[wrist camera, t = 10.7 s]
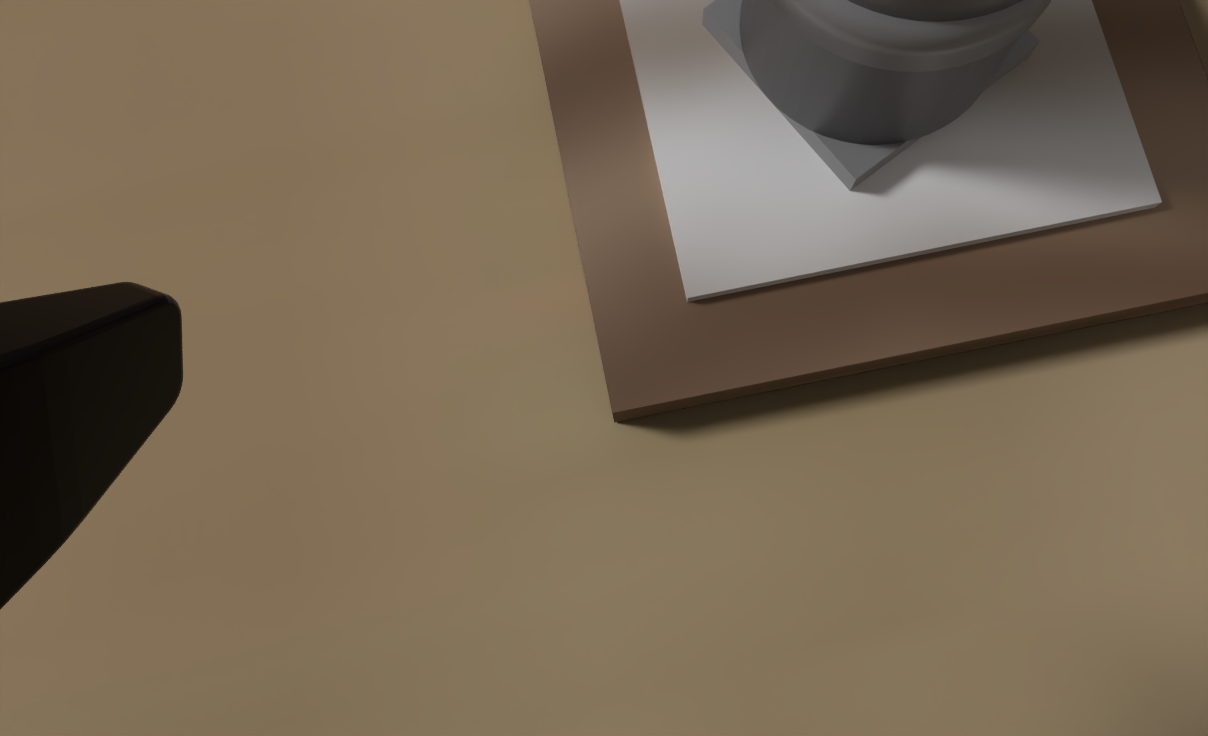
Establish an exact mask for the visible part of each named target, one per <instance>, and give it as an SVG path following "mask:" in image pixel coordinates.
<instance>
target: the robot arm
mask: <svg viewBox="0 0 1208 736" xmlns="http://www.w3.org/2000/svg"><path fill="white" fill-rule="evenodd" d="M182 382H183V356H182V318H181V310H180V308H179V305H178V303H177V302H176V300H174V299H173V298H172V297H171V296H169V295H167V294H164V293H161V292H159V291H156V290H153V289H150V288H148V287H145V286H142V285H139V284H136V283H132V282H121V283H115V284H109V285H103V286H97V287H91V288H85V289H79V290H73V291H67V292H61V293H55V294H49V295H43V296H37V297H31V298H25V299H19V300H13V301H7V302H1V303H0V609H1V608H2V607H3V606H4V605H5V604H6V603H7V602H8V601H9V600H10V599H11V598H12V597H13V596H14V595H15V594H16V593H17V592H18V591H19V590H20V589H21V588H22V587H23V586H24V585H25V584H26V583H27V582H28V581H29V580H30V579H31V578H32V576H33V575H34V574H35V573H36V572H37V571H38V570H39V569H40V568H41V567H42V566H43V565H44V564H45V563H46V562H47V561H48V560H49V559H50V558H51V556H52V555H53V554H54V553H55V552H56V551H57V550H58V549H59V548H60V547H61V546H62V545H63V544H64V542H65V541H66V540H67V539H68V538H69V537H70V535H71V534H72V533H73V532H74V531H75V529H76V528H77V527H78V526H79V525H80V523H81V522H82V521H83V520H84V519H85V517H86V516H87V515H88V514H89V512H90V511H91V510H92V509H93V507H94V506H95V505H96V503H97V502H98V501H99V500H100V498H101V497H102V496H103V495H104V493H105V492H106V491H107V489H108V488H109V487H110V486H111V484H112V483H113V482H114V481H115V479H116V478H117V477H118V476H119V474H120V473H121V472H122V470H123V469H124V468H125V467H126V465H127V464H128V463H129V462H130V460H131V459H132V458H133V456H134V455H135V454H136V453H137V451H138V450H139V449H140V448H141V446H142V445H143V444H144V443H145V441H146V440H147V439H148V437H149V436H150V435H151V434H152V432H153V431H154V430H155V429H156V427H157V426H158V425H159V423H160V422H161V421H162V420H163V418H164V417H165V416H166V415H167V413H168V412H169V411H170V410H171V408H172V407H173V405H174V404H175V402H176V400H177V398H178V396H179V393H180V390H181V387H182Z"/></svg>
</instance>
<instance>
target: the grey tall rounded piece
mask: <svg viewBox="0 0 1208 736" xmlns="http://www.w3.org/2000/svg"><path fill="white" fill-rule="evenodd" d="M1051 1H1052V0H715V1H714V2H712V3H711V4H709V5H708V6H707V7H705V8H704V9H703V20H702V25H703V26H704V27H705V28H706V29H707V30H708V32H709V33H710V34H711V35H712V36H713V37H714V38H715V39H716V41H717V42H718V43H719V44H720V45H721V46H722V47H723V48H724V50H725V51H726V52H727V53H728V54H729V55H730V56H731V58H732V59H733V60H734V61H735V62H736V63H737V64H738V65H739V67H740V68H741V69H742V70H743V71H744V72H745V73H746V74H747V76H748V77H749V78H750V79H751V80H752V81H753V82H754V83H755V85H756V86H757V87H758V88H759V89H760V90H761V91H762V92H763V94H764V95H765V96H766V97H767V98H768V99H769V100H770V102H771V103H772V104H773V105H774V106H775V107H776V108H777V109H778V111H779V112H780V113H781V114H782V115H783V116H784V117H785V118H786V120H787V121H788V122H789V123H790V124H791V125H792V126H793V127H794V129H795V130H796V131H797V132H798V133H799V134H800V135H801V136H802V138H803V139H804V140H805V141H806V142H807V143H808V144H809V146H810V147H811V148H812V149H813V150H814V151H815V152H816V153H817V155H818V156H819V157H820V158H821V159H822V160H823V161H824V162H825V164H826V165H827V166H828V167H829V168H830V169H831V170H832V171H833V173H834V174H835V175H836V176H837V177H838V178H839V179H840V180H841V182H842V183H843V184H844V185H845V186H846V187H847V188H848V190H849V191H851V190H852V189H853V188H855V187H856V186H857V185H859V184H860V183H861V182H863V181H864V180H865V179H867V178H868V177H869V176H871V175H872V174H873V173H875V172H876V171H877V170H879V169H880V168H881V167H883V166H884V165H885V164H887V163H888V162H889V161H891V160H892V159H893V158H895V157H896V156H897V155H899V154H900V153H901V152H903V151H904V150H905V149H907V148H908V147H909V146H911V145H912V144H913V143H915V142H916V141H917V140H919V139H920V138H921V137H923V136H926V135H928V134H931V133H933V132H935V131H937V130H939V129H941V128H943V127H945V126H946V125H948V124H949V123H951V122H952V121H954V120H955V119H957V118H958V117H959V116H960V115H962V114H963V113H964V112H965V111H966V110H967V109H969V108H970V107H971V105H972V104H973V103H974V102H975V101H976V100H977V99H978V98H979V96H980V95H981V94H982V92H983V91H984V90H985V89H987V88H988V87H989V86H991V85H992V84H993V83H995V82H996V81H997V80H999V79H1000V78H1001V77H1003V76H1004V75H1005V74H1007V73H1008V72H1009V71H1011V70H1012V69H1013V68H1015V67H1016V66H1017V65H1019V64H1020V63H1021V62H1023V61H1024V60H1025V59H1027V58H1028V57H1029V56H1030V55H1031V54H1032V52H1033V51H1034V49H1035V48H1036V47H1037V45H1038V44H1039V42H1040V41H1039V40H1038V39H1037V38H1036V37H1035V36H1034V35H1033V34H1032V33H1031V32H1030V30H1029V28H1030V27H1031V26H1032V25H1033V24H1034V22H1035V21H1036V20H1037V19H1038V18H1039V17H1040V16H1041V15H1042V13H1043V12H1044V11H1045V9H1046V8H1047V6H1048V5H1049V4H1050V2H1051Z"/></svg>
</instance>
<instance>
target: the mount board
mask: <svg viewBox="0 0 1208 736" xmlns="http://www.w3.org/2000/svg"><path fill="white" fill-rule="evenodd" d="M714 1H715V0H530V5H531V10H532V15H533V20H534V25H535V30H536V35H537V40H538V45H539V50H540V55H541V60H542V65H543V70H544V75H545V80H546V85H547V90H548V95H549V100H550V105H551V110H552V115H553V120H554V125H555V130H556V135H557V140H558V145H559V150H560V155H561V160H562V164H563V169H564V174H565V179H566V184H567V189H568V194H569V199H570V204H571V209H572V214H573V219H574V224H575V229H576V234H577V239H578V244H579V249H580V254H581V259H582V264H583V269H584V274H585V279H586V284H587V289H588V294H589V299H590V304H591V309H592V314H593V319H594V324H595V329H596V334H597V339H598V344H599V349H600V354H601V359H602V363H603V368H604V373H605V378H606V383H607V388H608V393H609V398H610V403H611V408H612V413H613V418H614V422H619V421H623V420H628V419H633V418H638V417H643V416H648V415H653V414H658V413H663V412H668V411H673V410H678V409H683V408H688V407H693V406H698V405H703V404H708V403H713V402H718V401H723V400H728V399H733V398H738V397H742V396H747V395H752V394H757V393H762V392H767V391H772V390H777V389H782V388H787V387H792V386H797V385H802V384H807V383H812V382H817V381H822V380H827V379H832V378H837V377H842V376H847V375H852V374H856V373H861V372H866V371H871V370H876V369H881V368H886V367H891V366H896V365H901V364H906V363H911V362H916V361H921V360H926V359H931V358H936V357H941V356H946V355H951V354H956V353H961V352H966V351H970V350H975V349H980V348H985V347H990V346H995V345H1000V344H1005V343H1010V342H1015V341H1020V340H1025V339H1030V338H1035V337H1040V336H1045V335H1050V334H1055V333H1060V332H1065V331H1070V330H1075V329H1080V328H1084V327H1089V326H1094V325H1099V324H1104V323H1109V322H1114V321H1119V320H1124V319H1129V318H1134V317H1139V316H1144V315H1149V314H1154V313H1159V312H1164V311H1169V310H1174V309H1179V308H1184V307H1189V306H1194V305H1199V304H1203V303H1208V79H1207V76H1206V73H1205V71H1204V68H1203V65H1202V62H1201V60H1200V57H1199V54H1198V52H1197V49H1196V46H1195V44H1194V41H1193V38H1192V35H1191V33H1190V30H1189V27H1188V25H1187V22H1186V19H1185V17H1184V14H1183V11H1182V8H1181V6H1180V3H1179V0H1052V1H1051V2H1050V4H1049V5H1048V6H1047V8H1046V9H1045V11H1044V12H1043V13H1042V15H1041V16H1040V17H1039V18H1038V19H1037V20H1036V21H1035V22H1034V24H1033V25H1032V26H1031V27H1030V28H1029V30H1030V32H1031V33H1032V34H1033V35H1034V36H1035V37H1036V38H1037V39H1038V40H1039V41H1040V42H1039V44H1038V45H1037V47H1036V48H1035V49H1034V51H1033V52H1032V54H1031V55H1030V56H1029V57H1028V58H1027V59H1025V60H1024V61H1023V62H1021V63H1020V64H1019V65H1017V66H1016V67H1015V68H1013V69H1012V70H1011V71H1009V72H1008V73H1007V74H1005V75H1004V76H1003V77H1001V78H1000V79H999V80H997V81H996V82H995V83H993V84H992V85H991V86H989V87H988V88H987V89H985V90H984V91H983V92H982V94H981V95H980V96H979V98H978V99H977V100H976V101H975V102H974V103H973V104H972V105H971V107H970V108H969V109H967V110H966V111H965V112H964V113H963V114H962V115H960V116H959V117H958V118H957V119H955V120H954V121H952V122H951V123H949V124H948V125H946V126H945V127H943V128H941V129H939V130H937V131H935V132H933V133H931V134H928V135H926V136H923V137H921V138H920V139H919V140H917V141H916V142H915V143H913V144H912V145H911V146H909V147H908V148H907V149H905V150H904V151H903V152H901V153H900V154H899V155H897V156H896V157H895V158H893V159H892V160H891V161H889V162H888V163H887V164H885V165H884V166H883V167H881V168H880V169H879V170H877V171H876V172H875V173H873V174H872V175H871V176H869V177H868V178H867V179H865V180H864V181H863V182H861V183H860V184H859V185H857V186H856V187H855V188H853V189H852V190H851V191H849V190H848V188H847V187H846V186H845V185H844V184H843V183H842V182H841V180H840V179H839V178H838V177H837V176H836V175H835V174H834V173H833V171H832V170H831V169H830V168H829V167H828V166H827V165H826V164H825V162H824V161H823V160H822V159H821V158H820V157H819V156H818V155H817V153H816V152H815V151H814V150H813V149H812V148H811V147H810V146H809V144H808V143H807V142H806V141H805V140H804V139H803V138H802V136H801V135H800V134H799V133H798V132H797V131H796V130H795V129H794V127H793V126H792V125H791V124H790V123H789V122H788V121H787V120H786V118H785V117H784V116H783V115H782V114H781V113H780V112H779V111H778V109H777V108H776V107H775V106H774V105H773V104H772V103H771V102H770V100H769V99H768V98H767V97H766V96H765V95H764V94H763V92H762V91H761V90H760V89H759V88H758V87H757V86H756V85H755V83H754V82H753V81H752V80H751V79H750V78H749V77H748V76H747V74H746V73H745V72H744V71H743V70H742V69H741V68H740V67H739V65H738V64H737V63H736V62H735V61H734V60H733V59H732V58H731V56H730V55H729V54H728V53H727V52H726V51H725V50H724V48H723V47H722V46H721V45H720V44H719V43H718V42H717V41H716V39H715V38H714V37H713V36H712V35H711V34H710V33H709V32H708V30H707V29H706V28H705V27H704V26H703V25H702V20H703V9H704V8H705V7H707V6H708V5H709V4H711V3H712V2H714Z"/></svg>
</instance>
